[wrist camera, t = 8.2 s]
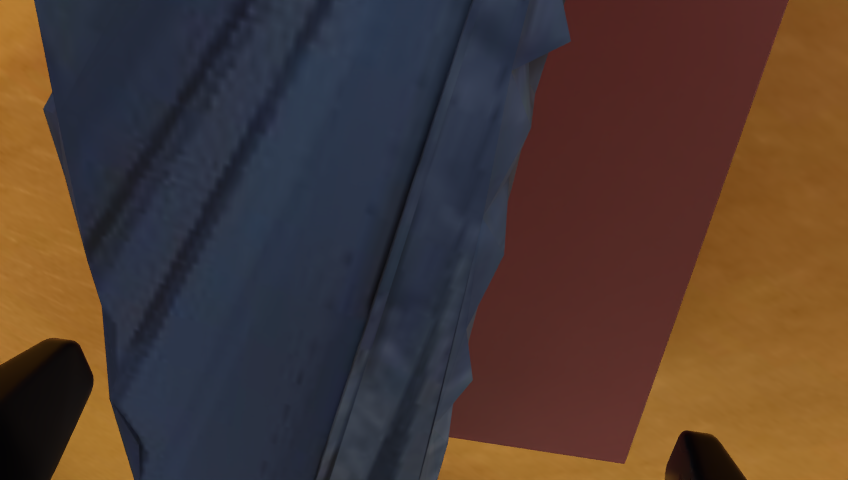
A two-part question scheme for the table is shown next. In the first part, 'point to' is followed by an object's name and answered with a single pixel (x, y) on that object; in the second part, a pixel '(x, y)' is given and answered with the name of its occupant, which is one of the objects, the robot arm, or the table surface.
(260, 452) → the vhs cassette tape
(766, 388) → the table surface
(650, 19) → the books
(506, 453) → the table surface
